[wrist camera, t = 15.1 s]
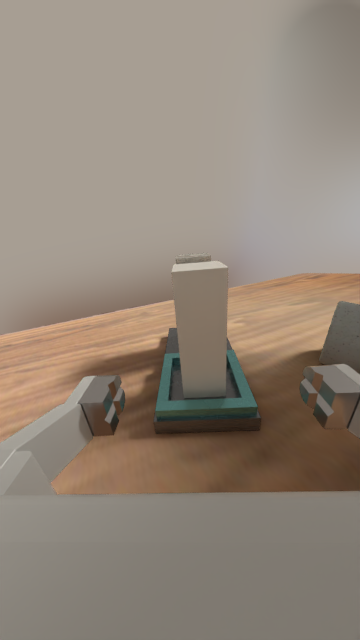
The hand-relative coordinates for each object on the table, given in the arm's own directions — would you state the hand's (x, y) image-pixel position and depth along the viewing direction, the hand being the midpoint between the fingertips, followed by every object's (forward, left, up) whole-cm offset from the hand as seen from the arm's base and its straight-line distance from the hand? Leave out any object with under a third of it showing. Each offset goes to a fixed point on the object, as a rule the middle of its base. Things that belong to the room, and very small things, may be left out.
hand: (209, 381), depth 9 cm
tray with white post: (-11, -8, -10) cm, 17 cm away
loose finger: (-7, -5, -8) cm, 12 cm away
